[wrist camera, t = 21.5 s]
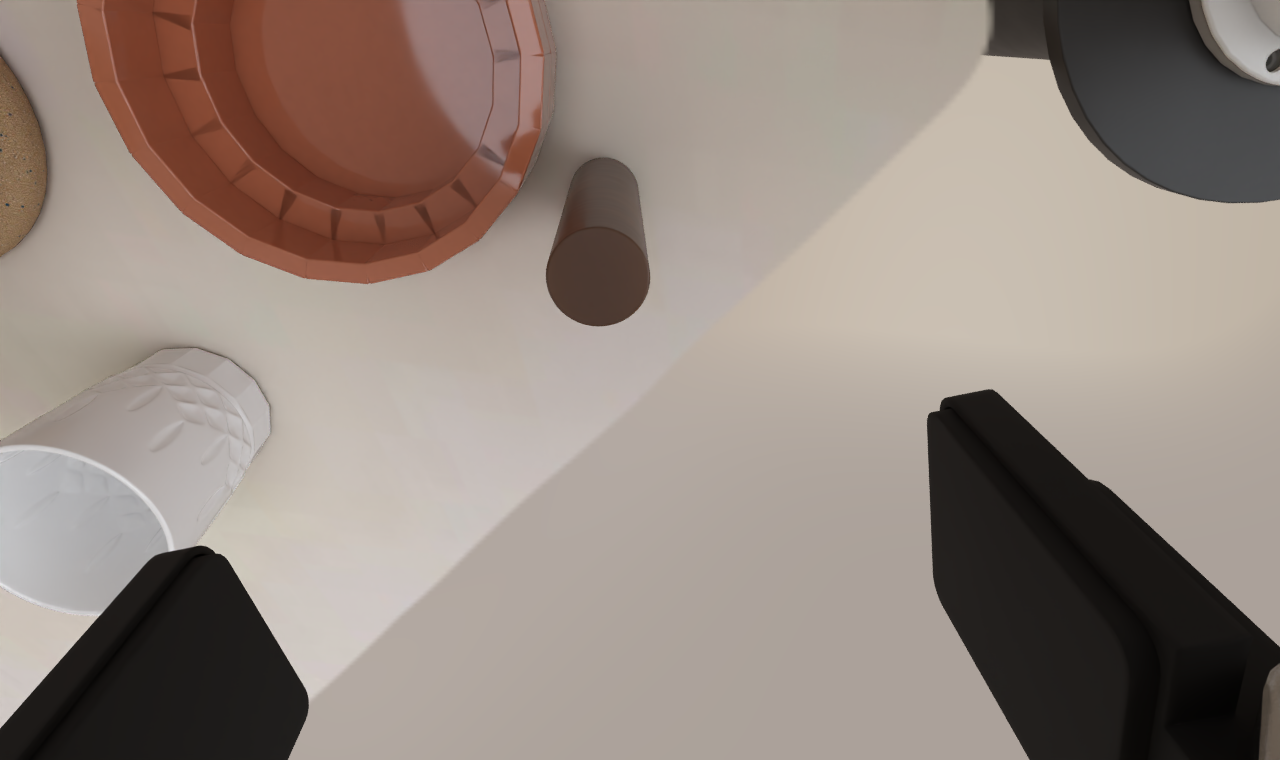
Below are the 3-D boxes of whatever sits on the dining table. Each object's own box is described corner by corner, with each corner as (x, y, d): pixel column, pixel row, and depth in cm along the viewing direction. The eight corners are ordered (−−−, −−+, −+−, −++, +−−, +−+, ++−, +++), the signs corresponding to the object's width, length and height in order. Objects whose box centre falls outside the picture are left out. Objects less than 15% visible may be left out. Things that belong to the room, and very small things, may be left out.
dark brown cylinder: (630, 150, 31) (638, 216, 20) (644, 219, 32) (659, 315, 21) (562, 166, 31) (533, 239, 20) (579, 233, 32) (561, 336, 21)
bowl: (495, -209, 25) (462, -275, 20) (594, 201, 31) (589, 236, 26) (109, -107, 26) (-23, -142, 21) (281, 270, 32) (214, 318, 27)
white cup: (83, 357, 34) (-109, 476, 25) (235, 316, 33) (94, 421, 24) (173, 489, 37) (33, 635, 28) (312, 454, 37) (214, 592, 28)
